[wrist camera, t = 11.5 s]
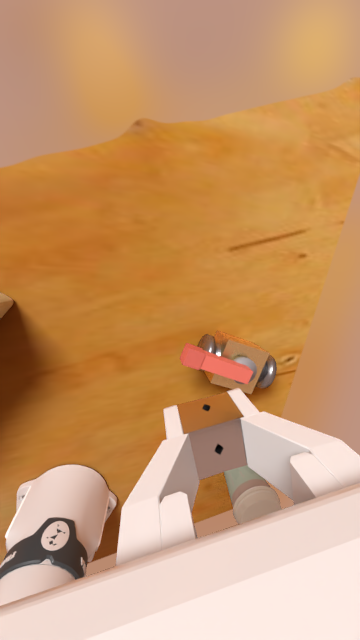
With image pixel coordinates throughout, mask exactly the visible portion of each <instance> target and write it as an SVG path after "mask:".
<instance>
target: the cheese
mask: <svg viewBox="0 0 360 640" xmlns="http://www.w3.org/2000/svg"><path fill="white" fill-rule="evenodd" d="M12 305H13V300H12V299H11V298H10V297H8V296H7V295H5V294H3V293H1V292H0V319H1V318H2V317H3V316H4V314H5V313H6V312H7V311H8V310H9V309H10V307H11V306H12Z"/></svg>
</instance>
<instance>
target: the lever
mask: <svg viewBox="0 0 360 640" xmlns="http://www.w3.org/2000/svg"><path fill="white" fill-rule="evenodd" d="M180 360H181V362H182V365H185V366H188V367H191V368H194V369H197V370H199V369H203V370H206V371H209V372H212V373H215V374H218V375H221V376H224V377H227V378H230V379H233V380H234V381H235V382H236V383H238V384H248V383H249V382H251V381H252V380H253V379H254V378H255V376H256V373H257V367H256V364H255V363H254V362H253V361H252V360H251V359H249V358H248V357H244V356H241V357H237V358H235V359H234V360H230V359H227V358H224V357H222V356H219V355H216V354H213V353H210V352H207V351H205V350H203V349H202V348H200V347H197V346H194V345H191V344H189V343H186V345H185V347H184V349H183V352H182V354H181V356H180Z"/></svg>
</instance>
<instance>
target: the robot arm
mask: <svg viewBox="0 0 360 640" xmlns="http://www.w3.org/2000/svg"><path fill="white" fill-rule="evenodd" d="M177 407H178V408H177ZM164 419H165V427H166V435H167V440H164V441H162V443H161V445H160V446H159V448H158V450H157V451H156V453H155V455H154V456H153V458H152V460H151V461H150V463H149V464H148V466H147V468H146V469H145V471H144V473H143V474H142V476H141V478H140V479H139V481H138V482H137V484H136V486H135V487H134V489H133V491H132V492H131V494H130V496H129V497H128V499H127V501H126V502H125V504H124V505H123V507H122V512H121V521H120V530H119V539H118V548H117V558H116V566H115V567H112V568H109V569H106V570H103V571H100V572H97V573H94V574H91V575H89V576H86V577H85V575H86V567H87V562H91V561H92V559H93V557H94V554H95V551H97V550H98V547H99V545H100V542H101V537H102V532H103V528H104V523H105V522H106V520H107V519H108V517H109V516H110V514H111V512H112V511H113V509H114V508H115V506H116V503H117V497H116V496H115V495H114V494H113V493H112V492H111V491H109V489H108V487H107V485H106V482H105V480H104V479H103V477H102V476H101V475H100V474H99V473H97V472H96V471H94V470H93V469H91V468H88V467H85V466H81V465H63V466H59V467H56V468H53V469H51V470H49V471H47V472H45V473H44V474H42V475H41V476H40V477H38V478H37V479H35V480H32V481H28V482H25V483H23V484H21V485H20V487H19V489H18V491H17V512H16V515H15V516H14V518H13V520H12V522H11V524H10V526H9V528H8V531H7V533H6V535H5V538H6V539H7V540H6V549H7V554H6V556H5V558H4V560H3V562H2V564H1V565H0V640H360V456H359V455H358V454H357V453H355V452H354V451H353V450H352V449H351V448H350V447H348V446H347V445H346V444H345V443H344V442H343V441H341V440H340V439H337V438H334V437H332V436H329V435H326V434H324V433H321V432H318V431H315V430H312V429H310V428H307V427H304V426H302V425H299V424H296V423H294V422H291V421H288V420H285V419H283V418H280V417H277V416H274V415H272V414H269V413H266V412H259V411H258V410H257V409H256V407H255V406H254V405H253V404H252V403H251V401H250V400H249V399H248V398H247V397H246V395H245V394H244V393H243V392H242V390H241V389H239V388H236V389H233V390H230V391H227V392H224V393H221V394H217V395H214V396H210V397H207V398H204V399H198V400H194V401H190V402H186V403H182V404H178V405H174V406H171V407H167V408H164ZM180 420H181V421H180ZM246 465H248V467H249V468H251V469H252V470H253V471H255V472H256V473H257V474H259V475H260V476H261V477H263V478H264V479H265V480H267V481H268V482H270V483H271V484H272V485H273V486H275V487H276V488H277V489H279V490H280V491H281V492H283V493H284V494H285V495H287V496H288V497H289V498H291V499H292V500H293V501H294V505H293V506H291V507H287V508H285V509H282V510H279V511H276V512H273V513H270V514H267V515H264V516H261V517H258V518H255V519H252V520H249V521H246V522H244V523H241V524H238V525H235V526H232V527H229V528H226V529H223V530H220V531H218V532H214V533H212V534H208V535H205V536H203V537H200V538H197V534H196V530H195V526H194V521H193V517H192V509H193V505H194V501H195V497H196V493H197V490H198V486H199V480H201V479H204V478H207V477H210V476H213V475H216V474H218V473H221V472H224V471H228V470H232V469H235V468H239V467H242V466H246Z"/></svg>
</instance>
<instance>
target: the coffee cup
mask: <svg viewBox="0 0 360 640" xmlns="http://www.w3.org/2000/svg"><path fill="white" fill-rule="evenodd" d="M224 475H225V479H226V483H227V486H228V490H229V494H230V498H231V502H232V505H233V515H234V517H235V519H236V521H237V523H238V524H241V523H244V522H246V521H249V520H252V519H255V518H258V517H261V516H264V515H267V514H270V513H273V512H276V511H279V510H282V509H281V506H280V500H279V498H278V495H277V493H276V492H275V491H274V490H273V489H272V488H270V486H269V485H268V483H267V482H266V480H265V479H264V478H263V477H261V476H260V475H259V474H257V473H256V472H255V471H253V470H252V469H251V468H249V467H248V465H246V466H242V467H239V468H235V469H232V470H228V471H224Z"/></svg>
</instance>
